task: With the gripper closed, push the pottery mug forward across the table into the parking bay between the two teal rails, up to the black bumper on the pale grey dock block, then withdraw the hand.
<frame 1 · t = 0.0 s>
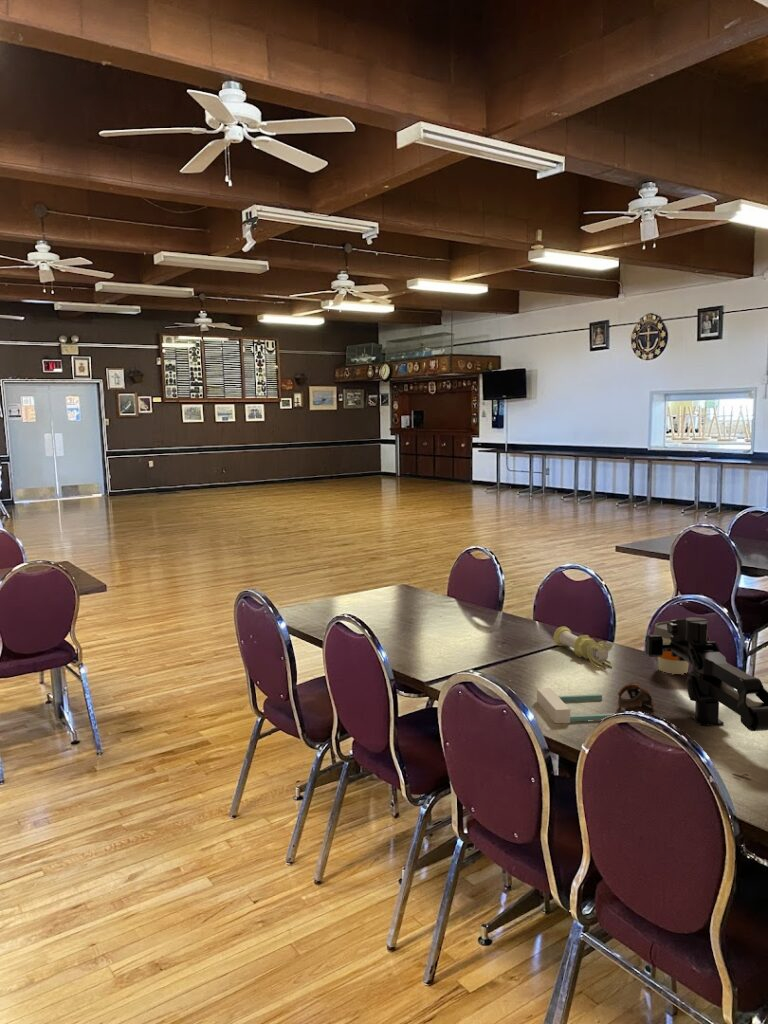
hand: (664, 637, 226), 17 cm above the table, tool horizontal, fingers open, 9 cm apart
parking bay: (584, 710, 211), on the table
trophy: (583, 657, 262), on the table
reusable coffee cup: (673, 670, 245), on the table
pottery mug: (635, 708, 213), on the table
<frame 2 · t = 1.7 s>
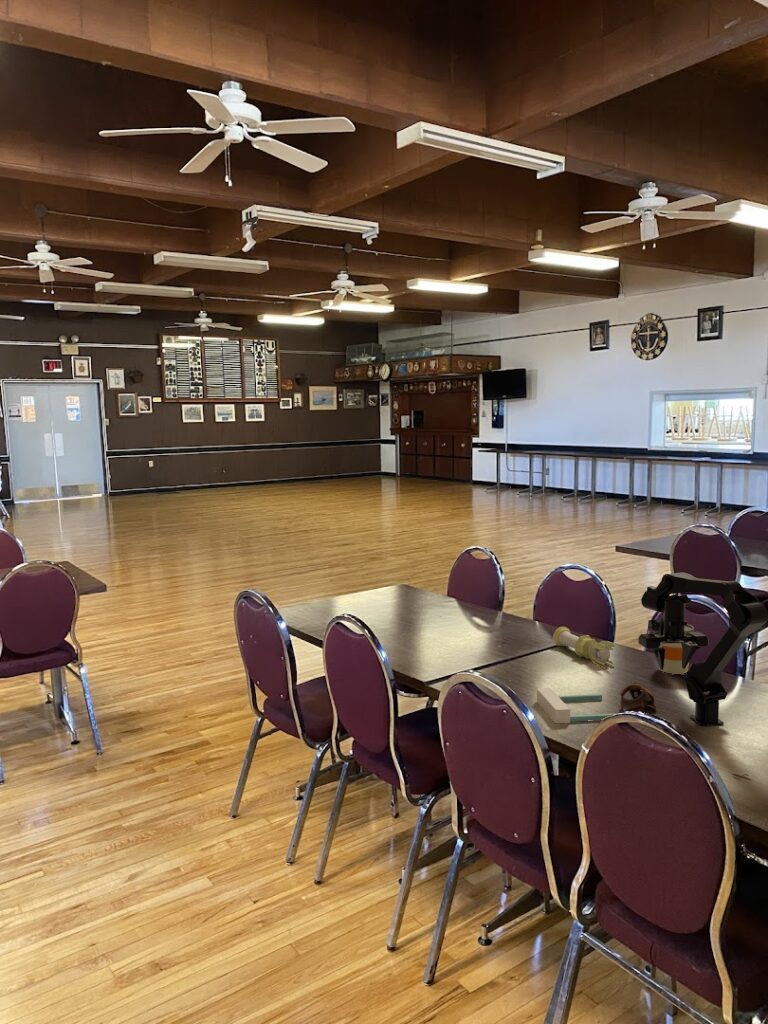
hand: (672, 668, 213), 11 cm above the table, tool pointing down, fingers open, 6 cm apart
nothing on the table moved.
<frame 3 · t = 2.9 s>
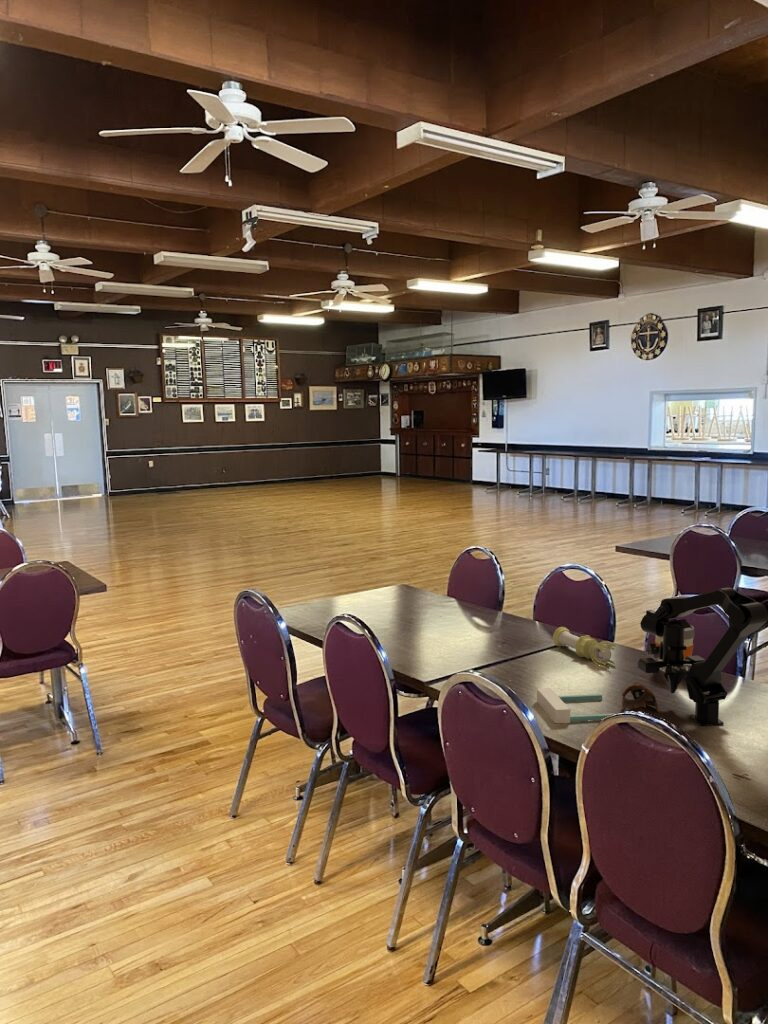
hand: (671, 692, 213), 4 cm above the table, tool pointing down, fingers closed
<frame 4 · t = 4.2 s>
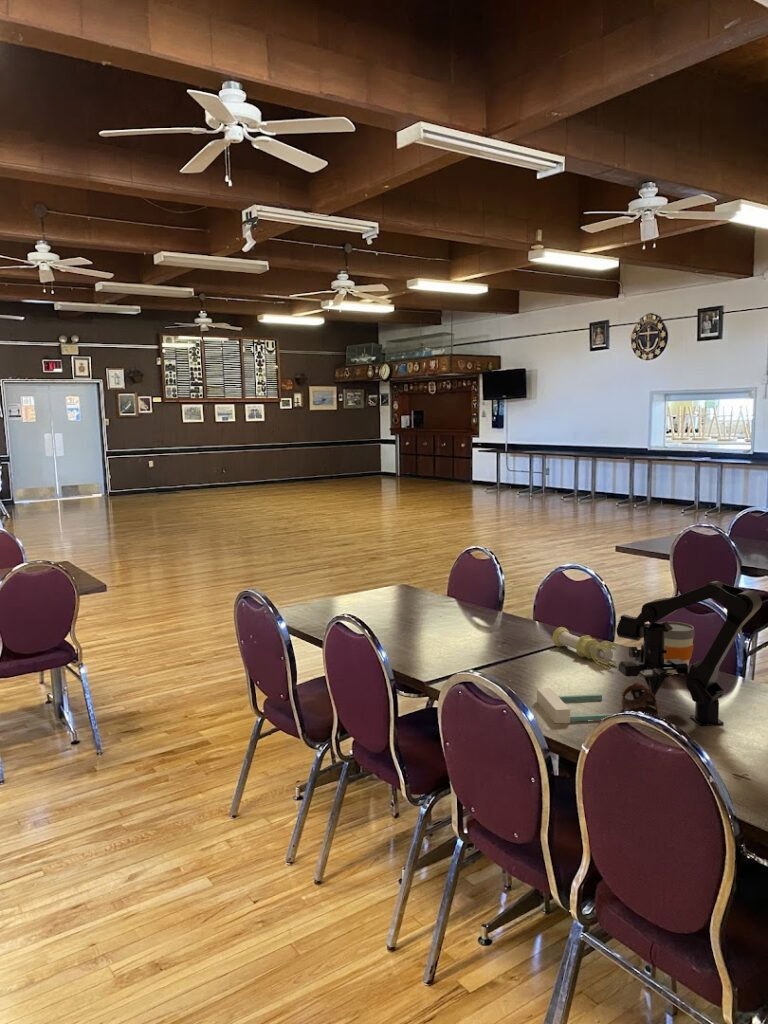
hand: (652, 696, 213), 3 cm above the table, tool pointing down, fingers closed
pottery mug: (639, 709, 212), on the table, touching gripper
everything else where it was.
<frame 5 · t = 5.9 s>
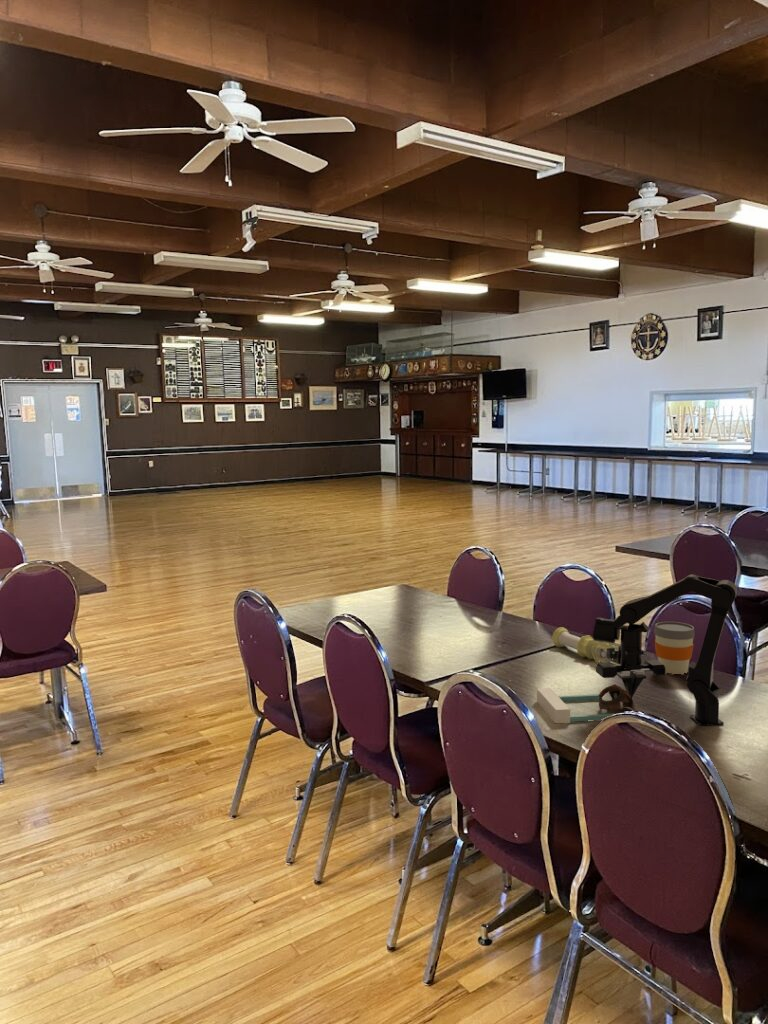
hand: (630, 697, 212), 3 cm above the table, tool pointing down, fingers closed
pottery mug: (616, 710, 211), on the table, touching gripper
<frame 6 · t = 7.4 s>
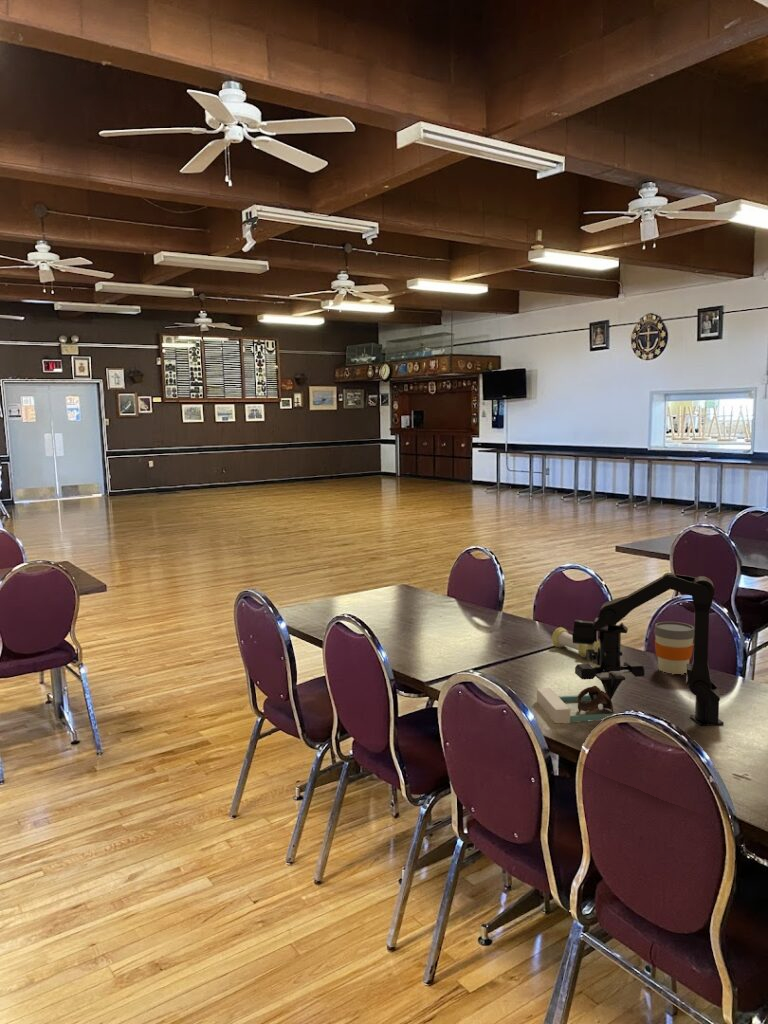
hand: (609, 699, 212), 3 cm above the table, tool pointing down, fingers closed
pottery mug: (595, 712, 210), on the table, touching gripper
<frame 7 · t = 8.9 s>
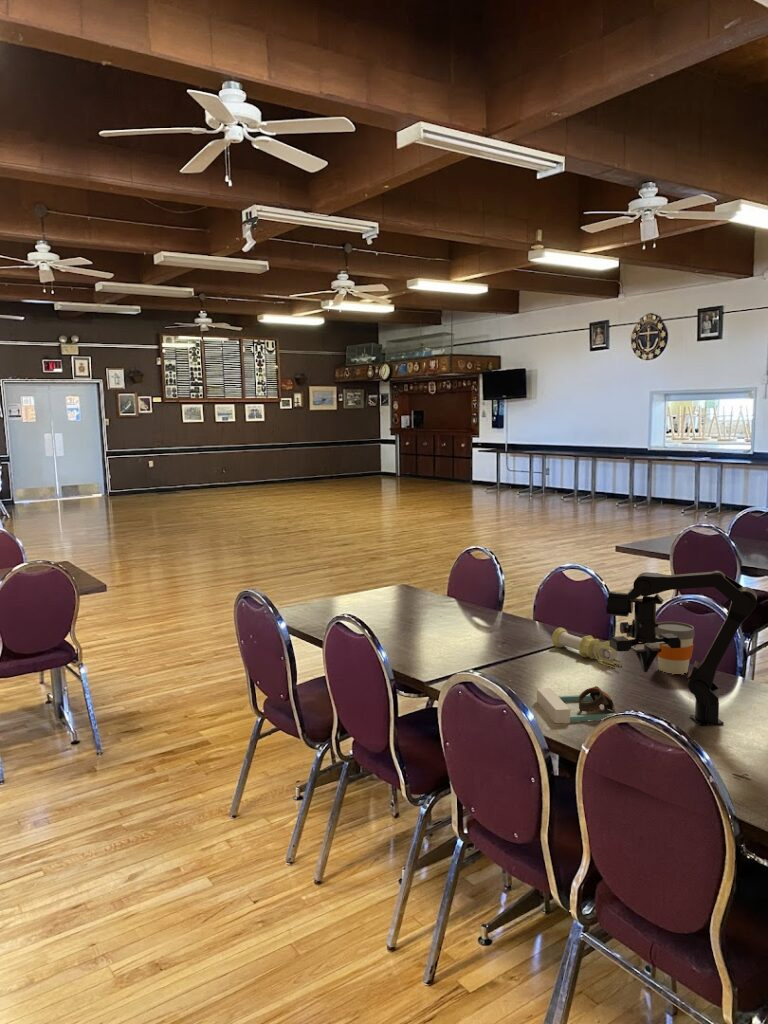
hand: (645, 671, 208), 12 cm above the table, tool pointing down, fingers closed
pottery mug: (596, 712, 210), on the table
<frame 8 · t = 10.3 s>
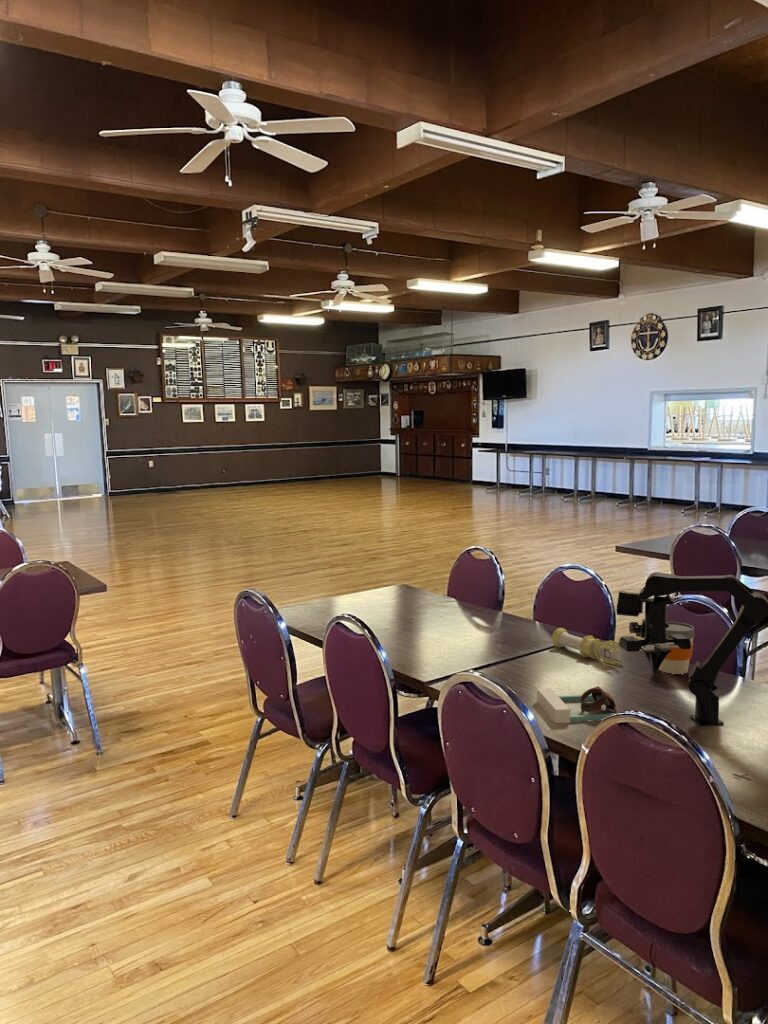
hand: (654, 672, 207), 12 cm above the table, tool pointing down, fingers closed
at the end: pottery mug inside the target area on the parking bay (4.3 cm from its centre), point 0.0 cm above the parking bay's base; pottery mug tilted 2°; the gripper is holding nothing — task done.
